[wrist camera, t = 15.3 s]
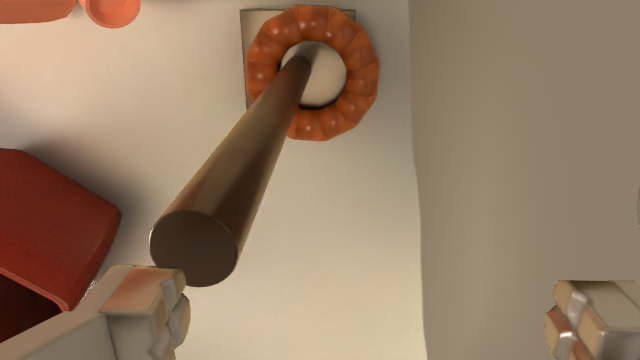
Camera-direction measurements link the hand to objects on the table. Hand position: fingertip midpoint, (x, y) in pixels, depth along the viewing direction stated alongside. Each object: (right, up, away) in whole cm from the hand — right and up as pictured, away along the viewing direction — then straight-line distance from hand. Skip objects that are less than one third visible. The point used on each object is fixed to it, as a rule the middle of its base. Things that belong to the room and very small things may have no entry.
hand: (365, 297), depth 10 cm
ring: (-2, +12, +28) cm, 30 cm away
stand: (-3, +13, +31) cm, 34 cm away
